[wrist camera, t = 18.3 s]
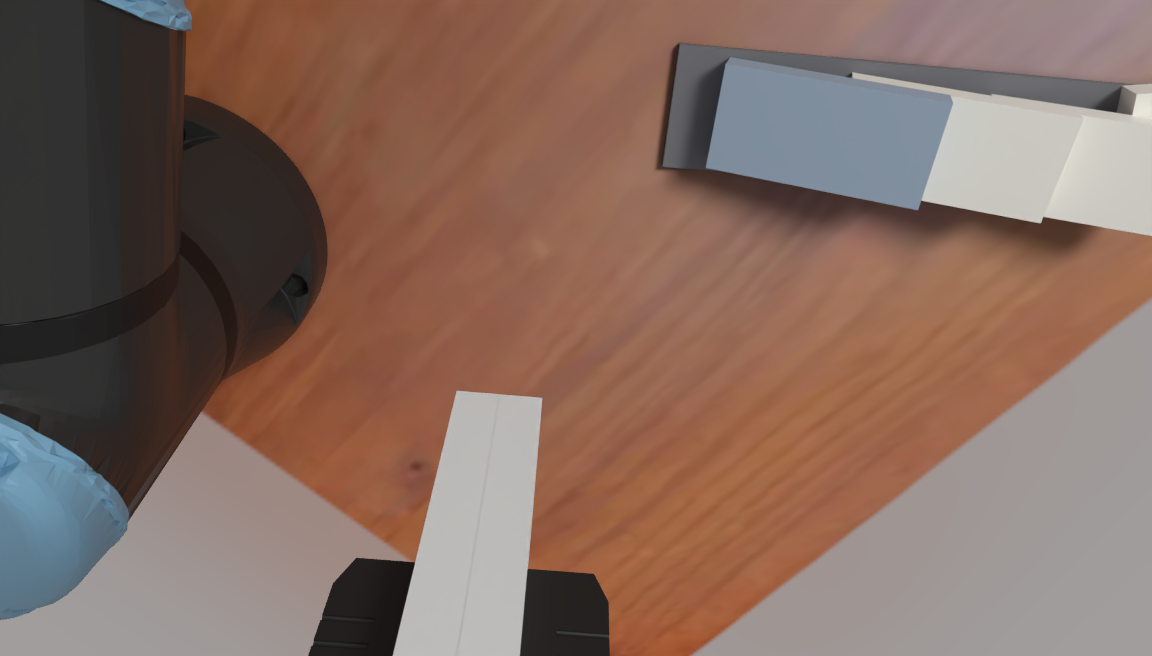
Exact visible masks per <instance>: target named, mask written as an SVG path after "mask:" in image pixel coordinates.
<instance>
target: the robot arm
mask: <svg viewBox="0 0 1152 656" xmlns="http://www.w3.org/2000/svg"><path fill="white" fill-rule="evenodd" d="M191 29H192V18H191V14H190V12H189V10H188V9H187V8H186V7H185V2H184V0H0V620H2V619H9V618H14V617H17V616H20V615H23V614H26V613H29V612H31V611H33V610H35V609H36V608H40V607H43V606H46V605H50V604H53V603H55V602H56V601H58V600H60V599H61V598H63V597H64V596H66V595H67V594H68V593H69V592H70V591H72V590H73V589H74V588H75V587H76V586H77V585H78V584H79V583H80V582H81V581H82V580H83V579H84V577H85V576H86V575H87V574H88V573H89V571H90V570H91V569H92V568H93V567H94V566H95V564H96V563H97V562H98V561H99V560H100V559H101V558H102V557H103V555H104V554H105V553H106V552H107V551H108V550H109V549H110V548H111V547H112V546H114V545H115V543H117V542H118V541H119V540H120V538H121V537H122V536H123V535H124V533H125V532H126V530H127V522H128V521H129V519H130V518H131V516H132V515H133V513H134V511H135V510H136V509H137V507H138V506H139V504H140V503H141V501H142V500H143V498H144V497H145V495H146V494H147V492H148V491H149V489H150V488H151V486H152V485H153V483H154V482H155V480H156V479H157V477H158V476H159V474H160V473H161V471H162V470H163V468H164V467H165V465H166V464H167V462H168V460H169V459H170V458H171V456H172V455H173V453H174V452H175V450H176V449H177V447H178V446H179V444H180V443H181V441H182V439H183V438H184V436H185V435H186V433H187V432H188V430H189V429H190V427H191V426H192V424H193V423H194V421H195V420H196V418H197V417H198V415H199V414H200V412H201V411H202V409H203V408H204V406H205V405H206V403H207V402H208V400H209V399H210V397H211V396H212V394H213V393H214V391H215V390H216V388H217V387H218V385H219V384H220V382H221V381H222V380H224V379H226V378H228V377H229V376H231V375H233V374H235V373H237V372H238V371H240V370H242V369H244V368H246V367H248V366H249V365H251V364H253V363H255V362H257V361H259V360H260V359H262V358H264V357H266V356H267V355H269V354H271V353H272V352H274V351H275V350H276V349H278V348H279V347H280V346H281V345H283V344H284V343H285V342H286V341H287V340H288V339H289V338H290V337H291V336H292V335H293V334H294V333H295V331H296V330H297V329H298V328H299V326H300V325H301V323H302V322H303V320H304V319H305V317H306V316H307V314H308V312H309V311H310V309H311V307H312V306H313V304H314V302H315V300H316V299H317V296H318V294H319V292H320V290H321V287H322V284H323V281H324V277H325V272H326V266H327V238H326V232H325V226H324V222H323V219H322V215H321V212H320V209H319V206H318V204H317V202H316V199H315V197H314V195H313V193H312V191H311V189H310V187H309V185H308V184H307V182H306V180H305V179H304V177H303V176H302V174H301V173H300V171H299V170H298V168H297V167H296V166H295V165H294V163H293V162H292V161H291V160H290V158H289V157H288V156H287V155H286V154H285V153H284V152H283V151H282V149H280V148H279V147H278V146H277V145H276V144H275V143H274V142H273V141H272V140H271V139H270V138H269V137H268V136H266V135H265V134H264V133H263V132H261V131H260V130H259V129H257V128H256V127H255V126H253V125H252V124H250V123H249V122H247V121H246V120H244V119H243V118H241V117H239V116H238V115H236V114H234V113H232V112H230V111H228V110H226V109H224V108H222V107H220V106H217V105H215V104H213V103H210V102H207V101H205V100H202V99H199V98H195V97H191V96H188V95H184V92H185V56H186V31H190V30H191ZM541 407H542V398H537V397H525V396H513V395H501V394H489V393H476V392H464V391H457V392H456V396H455V400H454V405H453V409H452V413H451V417H450V421H449V425H448V429H447V433H446V438H445V442H444V446H443V450H442V454H441V458H440V462H439V467H438V471H437V475H436V479H435V483H434V487H433V491H432V496H431V500H430V504H429V508H428V512H427V516H426V520H425V524H424V529H423V533H422V537H421V541H420V545H419V549H418V553H417V558H416V562H403V561H390V560H377V559H364V558H356V559H355V560H354V561H353V562H352V563H351V564H350V566H349V567H348V568H347V569H346V570H345V571H344V572H343V573H342V574H341V575H340V576H339V578H338V579H337V580H336V581H335V582H334V583H333V585H332V588H331V591H330V594H329V597H328V600H327V603H326V606H325V608H324V612H323V616H322V620H320V623H319V626H318V629H317V632H316V635H315V637H314V643H313V646H311V649H310V652H309V655H308V656H610V652H609V605H608V600H607V598H606V596H605V595H604V593H603V591H602V589H601V587H600V585H599V583H598V581H597V579H596V577H595V575H594V574H587V573H574V572H561V571H548V570H535V569H528V561H529V549H530V538H531V526H532V515H533V503H534V491H535V479H536V467H537V455H538V443H539V431H540V419H541Z"/></svg>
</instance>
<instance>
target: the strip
mask: <svg viewBox="0 0 1152 656" xmlns="http://www.w3.org/2000/svg"><path fill="white" fill-rule="evenodd" d="M730 57H733V58H739V59H744V60H750V61H756V62H762V63H768V64H773V65H779V66H785V67H791V68H797V69H802V70H808V71H814V72H820V73H826V74H831V75H837V76H843V77H849V78H851V76H852V72H853V73H859V74H865V75H871V76H877V77H883V78H889V79H895V80H901V81H907V82H913V83H919V84H925V85H931V86H937V87H943V88H949V89H954V90H960V91H966V92H972V93H978V94H984V95H990V96H991V94H996V95H1003V96H1009V97H1016V98H1022V99H1029V100H1036V101H1042V102H1049V103H1055V104H1062V105H1068V106H1075V107H1081V108H1088V109H1095V110H1101V111H1108V112H1114V113H1117V108H1118V103H1119V98H1120V93H1121V88H1122V86H1125V85H1133V84H1123V83H1112V82H1101V81H1090V80H1079V79H1068V78H1057V77H1046V76H1035V75H1024V74H1013V73H1002V72H991V71H980V70H970V69H959V68H948V67H937V66H926V65H915V64H904V63H893V62H882V61H871V60H860V59H849V58H838V57H827V56H817V55H806V54H795V53H784V52H773V51H762V50H751V49H740V48H729V47H718V46H707V45H696V44H685V43H679V48H678V55H677V62H676V69H675V76H674V83H673V91H672V98H671V105H670V112H669V119H668V126H667V133H666V140H665V147H664V155H663V162H662V166H663V167H671V168H682V169H694V170H705V171H716V172H724V171H719V170H714V169H709V168H706V164H707V159H708V154H709V149H710V143H711V138H712V133H713V128H714V122H715V117H716V112H717V107H718V101H719V96H720V91H721V86H722V81H723V75H724V70H725V65H726V63H727V61H728V60H729V58H730ZM728 173H729V172H728Z"/></svg>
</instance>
